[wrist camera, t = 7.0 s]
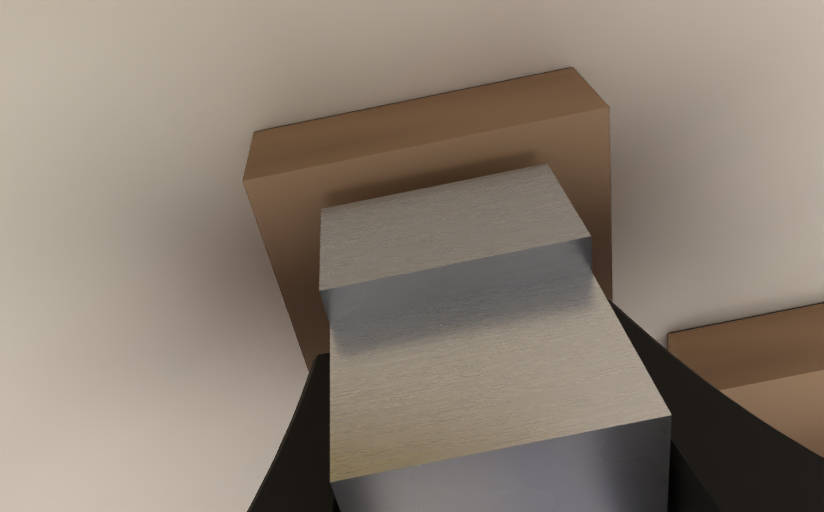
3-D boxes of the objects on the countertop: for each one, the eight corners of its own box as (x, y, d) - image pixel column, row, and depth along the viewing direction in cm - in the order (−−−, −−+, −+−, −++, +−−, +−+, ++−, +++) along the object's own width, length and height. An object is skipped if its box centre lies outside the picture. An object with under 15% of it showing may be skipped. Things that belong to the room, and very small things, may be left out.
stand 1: (585, 350, 17) (614, 410, 15) (339, 399, 17) (341, 465, 15) (572, 67, 13) (608, 106, 11) (254, 132, 13) (242, 180, 11)
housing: (566, 427, 14) (659, 672, 10) (392, 460, 14) (416, 719, 10) (547, 163, 11) (674, 372, 7) (321, 208, 11) (315, 443, 7)
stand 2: (863, 474, 20) (910, 534, 19) (661, 514, 21) (690, 577, 19) (917, 284, 17) (982, 338, 15) (668, 333, 17) (705, 392, 15)
